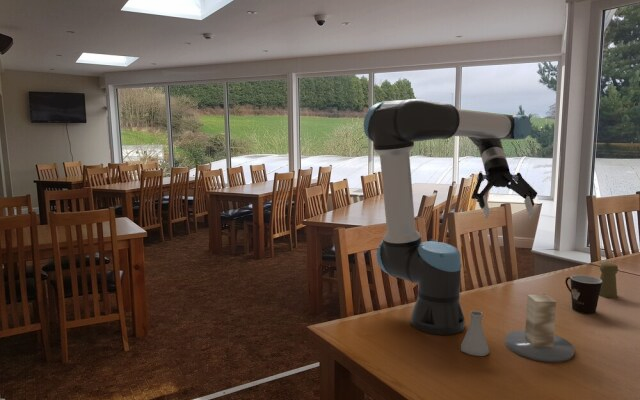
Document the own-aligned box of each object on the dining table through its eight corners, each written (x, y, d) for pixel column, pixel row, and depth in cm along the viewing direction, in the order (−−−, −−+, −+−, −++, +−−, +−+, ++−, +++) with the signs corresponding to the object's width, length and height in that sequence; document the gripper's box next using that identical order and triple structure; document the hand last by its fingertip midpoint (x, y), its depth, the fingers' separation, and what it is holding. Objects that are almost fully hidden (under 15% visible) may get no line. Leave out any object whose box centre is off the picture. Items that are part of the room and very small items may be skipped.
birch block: (533, 347, 117) (535, 301, 116) (524, 338, 122) (527, 294, 120) (553, 347, 117) (556, 301, 115) (544, 338, 122) (546, 294, 120)
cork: (617, 293, 160) (619, 262, 158) (617, 299, 155) (619, 267, 153) (596, 290, 163) (599, 260, 161) (596, 295, 158) (598, 264, 156)
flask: (486, 359, 113) (488, 320, 112) (456, 352, 117) (458, 314, 116) (492, 348, 119) (494, 311, 118) (464, 341, 123) (465, 305, 122)
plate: (528, 364, 111) (528, 359, 111) (493, 336, 126) (494, 332, 126) (588, 359, 113) (589, 354, 113) (547, 332, 129) (548, 328, 128)
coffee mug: (604, 316, 140) (606, 284, 139) (573, 314, 142) (575, 282, 140) (590, 302, 151) (592, 273, 150) (561, 301, 153) (563, 271, 152)
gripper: (528, 171, 159) (546, 222, 146) (455, 171, 160) (466, 222, 147) (536, 156, 153) (555, 208, 140) (460, 156, 154) (472, 208, 141)
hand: (509, 215), depth 144 cm, fingers open, 13 cm apart
